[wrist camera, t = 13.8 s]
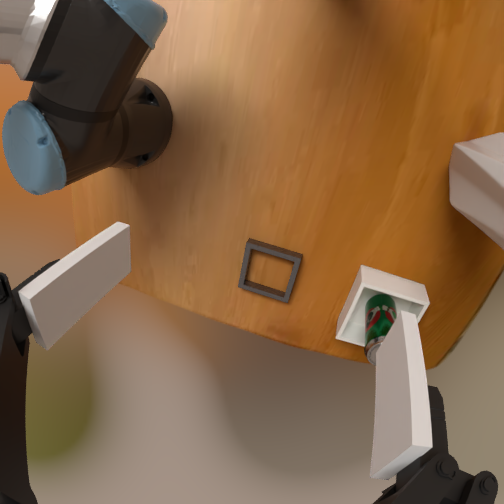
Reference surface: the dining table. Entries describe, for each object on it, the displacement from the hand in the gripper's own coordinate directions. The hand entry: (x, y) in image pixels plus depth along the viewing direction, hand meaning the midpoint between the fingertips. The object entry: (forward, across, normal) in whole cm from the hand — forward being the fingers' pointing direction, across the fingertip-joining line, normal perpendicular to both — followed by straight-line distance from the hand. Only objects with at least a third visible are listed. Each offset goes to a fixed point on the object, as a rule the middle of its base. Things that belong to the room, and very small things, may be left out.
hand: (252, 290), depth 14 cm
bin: (+32, +16, -19) cm, 40 cm away
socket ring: (+32, -3, -19) cm, 37 cm away
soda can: (+31, +16, -19) cm, 40 cm away
